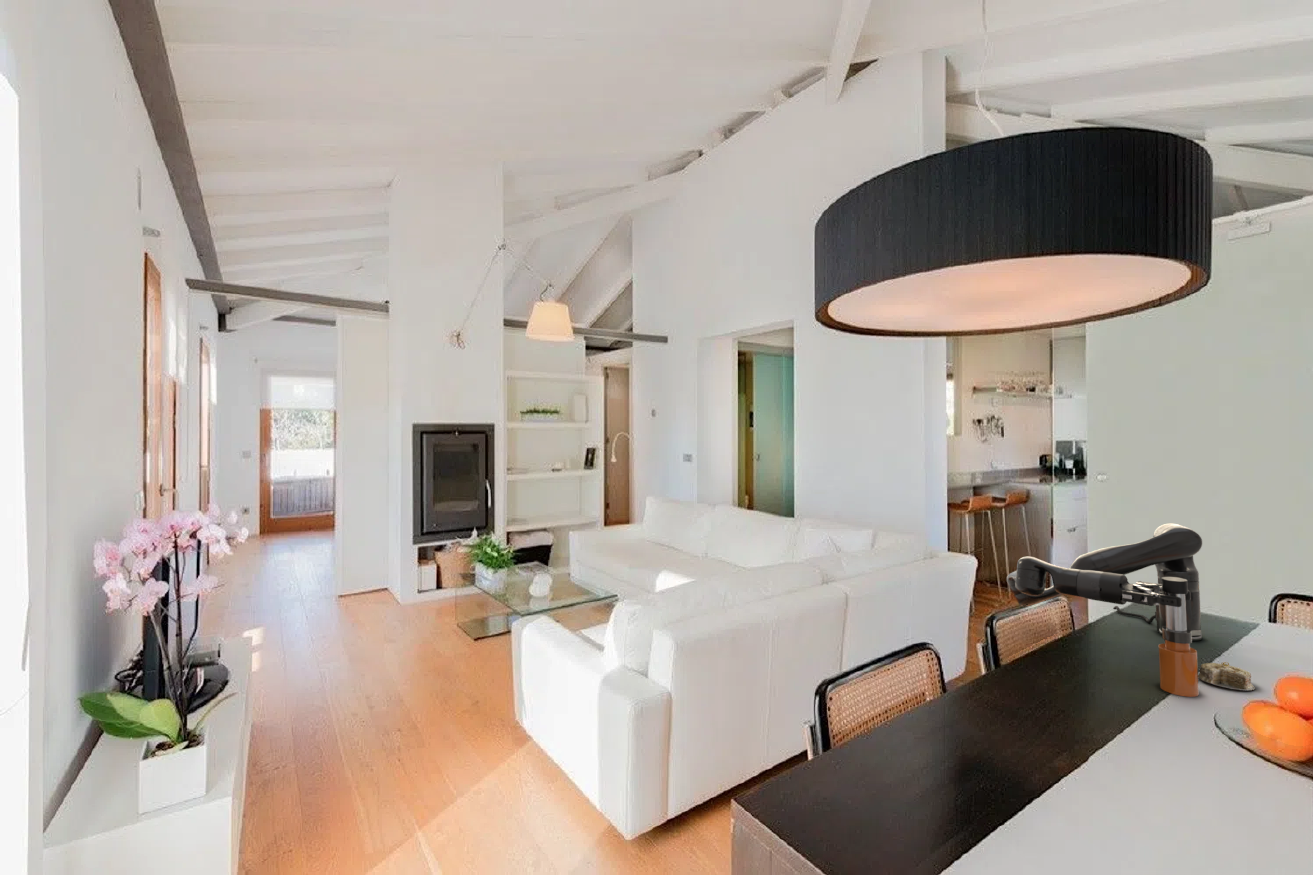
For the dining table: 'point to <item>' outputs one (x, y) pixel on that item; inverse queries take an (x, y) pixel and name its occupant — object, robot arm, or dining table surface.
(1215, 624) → the dining table surface
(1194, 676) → the bottle
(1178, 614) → the silver shaker
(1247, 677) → the cake
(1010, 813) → the dining table surface
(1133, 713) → the dining table surface
